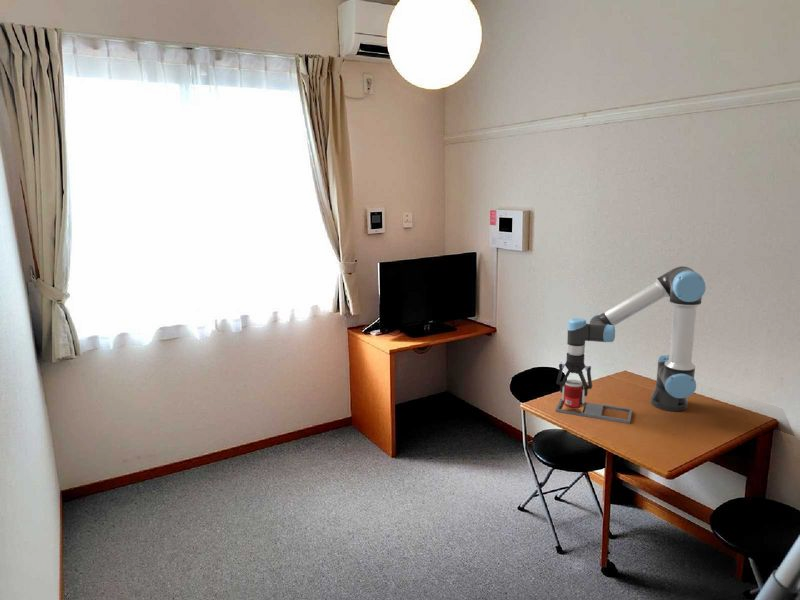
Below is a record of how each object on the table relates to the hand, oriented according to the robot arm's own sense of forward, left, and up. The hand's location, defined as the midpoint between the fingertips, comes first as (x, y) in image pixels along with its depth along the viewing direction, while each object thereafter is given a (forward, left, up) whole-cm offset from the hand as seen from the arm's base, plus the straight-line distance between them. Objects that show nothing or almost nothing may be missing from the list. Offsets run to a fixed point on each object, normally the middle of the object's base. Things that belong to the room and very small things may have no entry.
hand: (573, 400), depth 248 cm
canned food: (0, 0, -2) cm, 2 cm away
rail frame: (-9, 0, -4) cm, 10 cm away
